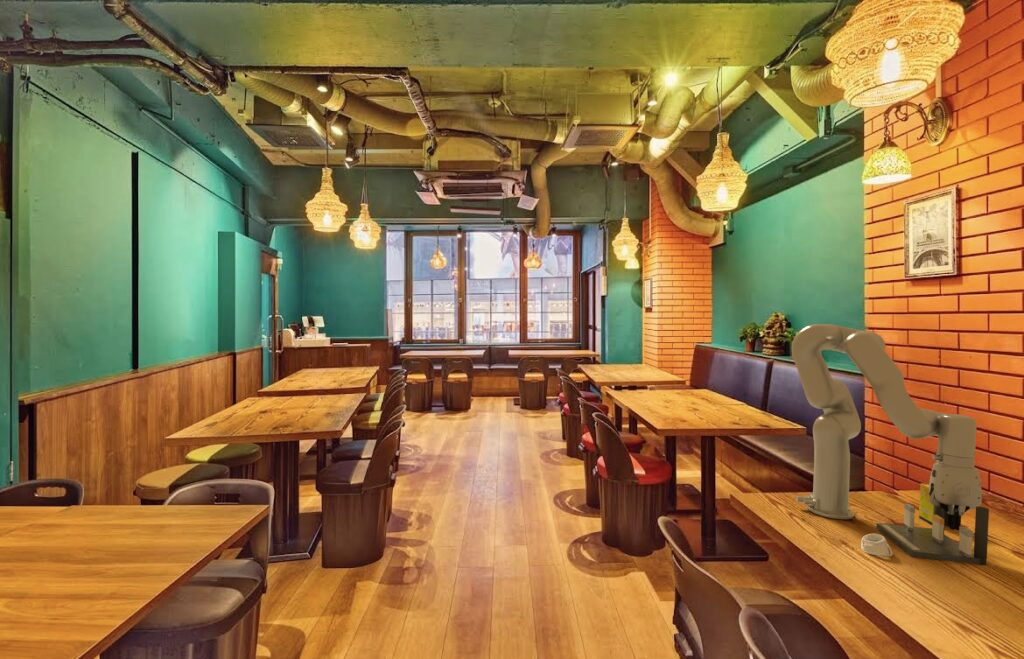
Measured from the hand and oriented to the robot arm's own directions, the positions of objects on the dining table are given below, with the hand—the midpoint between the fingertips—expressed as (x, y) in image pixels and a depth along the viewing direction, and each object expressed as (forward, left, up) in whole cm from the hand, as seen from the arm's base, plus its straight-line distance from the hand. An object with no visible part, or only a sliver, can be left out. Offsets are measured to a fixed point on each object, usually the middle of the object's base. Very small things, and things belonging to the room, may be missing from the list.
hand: (952, 527), depth 133 cm
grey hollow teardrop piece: (-22, -8, -6) cm, 24 cm away
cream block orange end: (-3, 0, -4) cm, 5 cm away
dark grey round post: (+2, 0, -5) cm, 6 cm away
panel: (-6, 0, -5) cm, 8 cm away
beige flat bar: (-6, +7, -4) cm, 10 cm away
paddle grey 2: (-1, -8, -4) cm, 9 cm away
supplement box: (+7, +19, -6) cm, 21 cm away
